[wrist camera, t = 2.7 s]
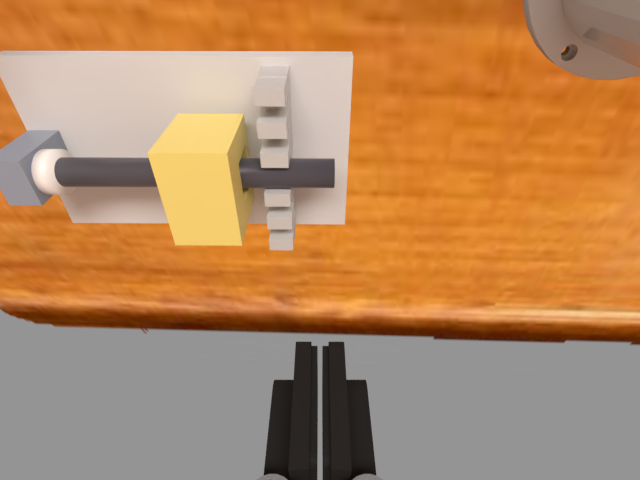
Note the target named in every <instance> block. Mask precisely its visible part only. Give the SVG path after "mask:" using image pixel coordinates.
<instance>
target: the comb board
mask: <svg viewBox="0 0 640 480" xmlns="http://www.w3.org/2000/svg"><path fill="white" fill-rule="evenodd" d="M352 73H353V53H352V51H1V52H0V77H1V79H2V81H3V83H4V85H5V87H6V90H7V92H8V94H9V96H10V98H11V100H12V102H13V104H14V106H15V108H16V110H17V112H18V114H19V116H20V118H21V120H22V122H23V124H24V126H25V128H26V130H27V131H26V132H25V133H24V134H22V135H21V136H19V137H18V138H16V139H15V140H13V141H12V142H11V143H9V144H8V145H6V146H5V147H3V148H2V149H0V190H1V192H2V193H3V195H4V197H5V198H6V200H7V202H8V203H9V205H10V206H43V205H44V204H45V203H46V202H47V201H48V200H49V199H50V198H51V197H52V196H53V195H59V196H60V198H61V200H62V202H63V204H64V206H65V208H66V210H67V212H68V214H69V216H70V218H71V220H72V222H73V223H168V219H167V216H166V213H165V210H164V206H163V203H162V200H161V196H160V193H159V190H158V187H157V183H156V180H155V177H154V174H153V170H152V167H151V164H150V160H149V157H148V154H147V153H148V152H149V150H150V149H151V148H152V147H153V145H154V144H155V143H156V141H157V140H158V139H159V138H160V136H161V135H162V134H163V132H164V131H165V130H166V129H167V127H168V126H169V125H170V123H171V122H172V121H173V120H174V118H175V117H176V116H177V114H244V118H245V126H246V134H247V142H248V150H249V158H241V159H240V162H239V169H240V176H241V183H242V188H253V190H254V202H253V206H252V210H251V213H250V217H249V221H248V224H267V227H268V229H271V231H270V236H269V246H270V250H293V248H294V238H295V229H296V224H345V212H346V192H347V172H348V153H349V133H350V113H351V93H352Z"/></svg>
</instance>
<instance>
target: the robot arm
mask: <svg viewBox="0 0 640 480" xmlns="http://www.w3.org/2000/svg"><path fill="white" fill-rule="evenodd" d="M523 10H524V14H525V19H526V23H527V28H528V30H529V32H530V34H531V36H532V38H533V40H534V42H535V45H536V46H537V47H538V48H539V50H540V51H541V52H542V53H543V54H544V55H545V57H546V58H547V59H548V60H550V61H551V62H553V63H554V64H556V65H557V66H558V67H560V68H562V69H564V70H566V71H568V72H570V73H572V74H574V75H576V76H579V77H584V78H588V79H593V80H618V79H623V78H629V77H634V76H638V75H640V0H523ZM565 47H566V49H565V51H564V52H562V51H563V49H564V48H565ZM317 443H318V346H312V343H311V342H296V346H295V363H294V380H274V383H273V389H272V399H271V408H270V418H269V428H268V437H267V447H266V456H265V466H264V476H262V477H260V478H259V479H257V480H317V455H318V453H317V451H318V449H317V448H318V444H317ZM322 449H323V450H322V451H323V452H322V455H323V480H383V479H381V478H380V477H379V476H376V466H375V456H374V447H373V437H372V428H371V418H370V408H369V398H368V389H367V382H366V380H346V363H345V346H344V342H329V343H328V346H322Z"/></svg>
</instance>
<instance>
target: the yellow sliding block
mask: <svg viewBox="0 0 640 480" xmlns="http://www.w3.org/2000/svg"><path fill="white" fill-rule="evenodd" d="M147 154H148V157H149V160H150V164H151V167H152V170H153V174H154V177H155V180H156V183H157V187H158V190H159V193H160V196H161V200H162V203H163V206H164V210H165V213H166V216H167V219H168V223H169V226H170V229H171V233H172V236H173V239H174V242H175V245H211V246H242V244H243V241H244V237H245V233H246V229H247V225H248V221H249V217H250V213H251V210H252V206H253V202H254V190H253V188H242V183H241V176H240V169H239V162H240V159H241V158H249V150H248V142H247V134H246V126H245V118H244V114H177V116H176V117H175V118H174V120H173V121H172V122H171V123H170V125H169V126H168V127H167V129H166V130H165V131H164V132H163V134H162V135H161V136H160V138H159V139H158V140H157V141H156V143H155V144H154V145H153V147H152V148H151V149H150V150H149V152H148V153H147Z"/></svg>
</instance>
